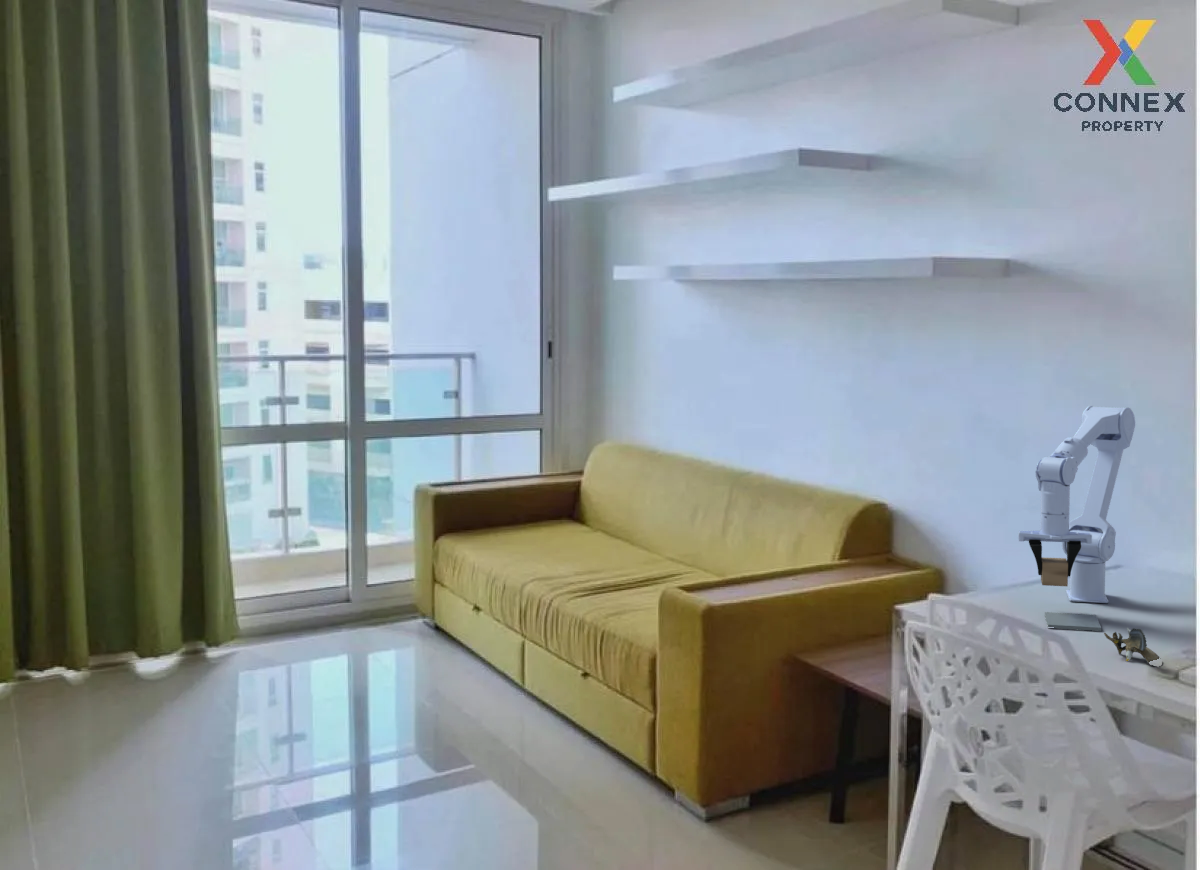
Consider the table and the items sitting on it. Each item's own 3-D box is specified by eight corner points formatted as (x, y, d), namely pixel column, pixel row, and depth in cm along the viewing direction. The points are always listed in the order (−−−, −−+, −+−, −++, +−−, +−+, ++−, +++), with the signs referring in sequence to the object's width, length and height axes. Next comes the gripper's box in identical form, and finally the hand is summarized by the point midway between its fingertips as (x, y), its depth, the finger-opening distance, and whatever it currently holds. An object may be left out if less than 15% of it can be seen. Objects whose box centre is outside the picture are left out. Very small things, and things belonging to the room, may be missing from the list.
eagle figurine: (1098, 653, 205) (1141, 656, 197) (1107, 617, 207) (1150, 619, 199) (1123, 669, 207) (1167, 673, 200) (1132, 634, 210) (1176, 637, 202)
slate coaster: (1044, 615, 235) (1044, 612, 234) (1095, 618, 231) (1095, 614, 231) (1048, 628, 225) (1048, 624, 225) (1101, 631, 222) (1101, 627, 222)
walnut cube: (1040, 579, 240) (1041, 557, 240) (1065, 580, 239) (1065, 558, 238) (1042, 585, 235) (1042, 562, 235) (1067, 586, 234) (1067, 563, 233)
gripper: (1019, 515, 234) (1019, 577, 235) (1093, 517, 229) (1092, 580, 231) (1018, 509, 241) (1017, 570, 242) (1090, 511, 236) (1089, 572, 237)
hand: (1054, 574), depth 237 cm, fingers closed on walnut cube, 5 cm apart
